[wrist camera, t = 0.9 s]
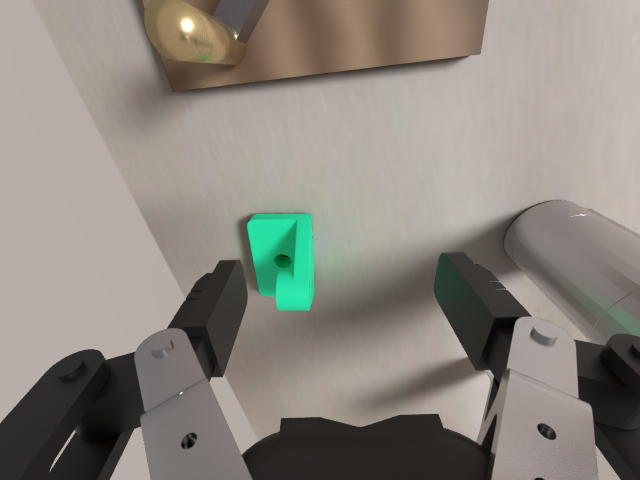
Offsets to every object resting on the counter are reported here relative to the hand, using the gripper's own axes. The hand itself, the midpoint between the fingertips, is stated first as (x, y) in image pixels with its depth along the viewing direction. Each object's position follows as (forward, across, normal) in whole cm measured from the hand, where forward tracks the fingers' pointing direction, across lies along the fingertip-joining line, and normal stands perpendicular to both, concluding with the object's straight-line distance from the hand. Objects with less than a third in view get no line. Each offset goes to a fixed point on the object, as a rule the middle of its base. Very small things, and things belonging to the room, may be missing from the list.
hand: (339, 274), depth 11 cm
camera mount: (+23, +6, +12) cm, 27 cm away
